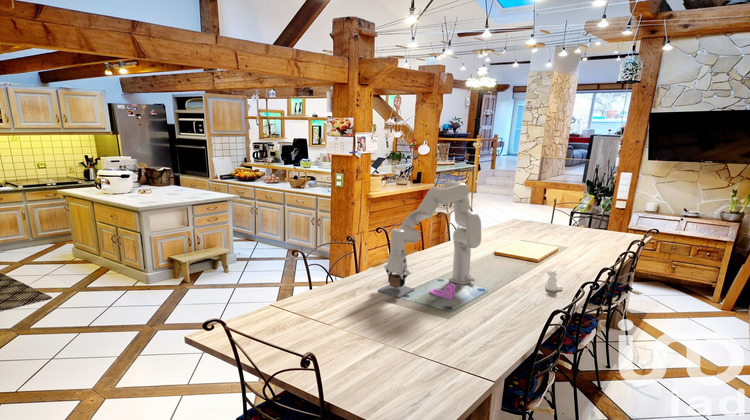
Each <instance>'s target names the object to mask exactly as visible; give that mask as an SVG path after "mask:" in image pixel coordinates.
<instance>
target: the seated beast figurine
mask: <svg viewBox="0 0 750 420" xmlns="http://www.w3.org/2000/svg"><path fill="white" fill-rule="evenodd" d="M545 271H546V274H547V275H548V276H549V277H548V278H547V282H545V284H544V285H545V290H546V291H548V292H559V291H562V290H564V287H563V286H561V285H557V283H558V279H557V275H558V272H557V271H556V270H555V269H552V268H551V269H548V270H545Z"/></svg>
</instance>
